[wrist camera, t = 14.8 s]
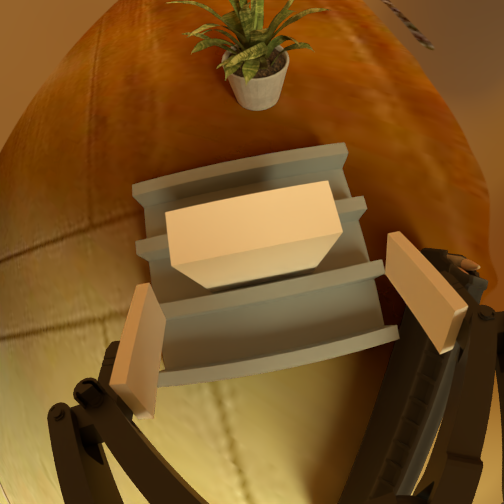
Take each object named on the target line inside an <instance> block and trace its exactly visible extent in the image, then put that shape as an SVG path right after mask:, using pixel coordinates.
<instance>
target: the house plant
mask: <svg viewBox="0 0 504 504" xmlns="http://www.w3.org/2000/svg"><path fill="white" fill-rule="evenodd" d="M229 1H230V2H231V4H232V6H233V7H234V9H235V11H232V12H230V13H227V14H225V15H223V16H222V17H221V16H219V15H218V14H217V13H216V12H214V11H213V10H212V9H211V8H209V7H207V6H206V5H204V4H200V3H198V2H193V1H173V2H168V3H183V4H186V3H189V4H193V5H197V6H199V7H202V8H204V9H206V10H207V11H209V12H211V13H212V14H213V15H215V16H216V17H217V18H219V19H220V20H222V21H223V22H224V23H225V24H226V25H227V26H228V27H225V26H223V27H225V28H227V29H229V30H231V31H232V32H234V33H235V35H236V36H237V38H238V40H239V42H240V43H239V42H238V41H237V40H236V39H235V38H234V37H233V36H231V35H230V34H229V33H227V32H225V31H223V30H217V29H216V31H219V32H221V33H223V34H225V35H226V36H228V37H229V38H230V39H231V40H232V41H234V42H235V43H236V44H235V45H234V44H232V43H230V42H228V41H225V40H223V39H216V38H215V39H211V38H209V37H208V36H205V35H203V34H204V33H206V32H208V31H211V30H206V31H204V32H203V33H201V34H200V33H198V32H200V31H202V30H205V29H207V28H210V27H214V26H220V25H217V24H205V25H202V26H201V27H199V28H198V29H196V30H194V31H193V32H191V33H183V34H186V35H189V36H188V37H190V36H192V35H194V36H197V37H200V38H202V39H205V40H203V41H200V42H199V43H198V44H197V45H196V46H195V47H194V49H193V51H192V53H193V52H197V51H200V50H203V49H205V48H207V47H210V46H213V45H216V46H218V47H221V48H223V49H225V50H227V51H226V52H225V53H224V55H223V57H222V63H220V64H219V65H218V66H217V68H216V69H218V68H219V67H221V66H223V70H224V71H225V81H226V79H227V78H228V80H229V83H230V85H231V88H232V90H233V92H234V95H235V97H236V99H237V101H238V103H239V104H240V105H241V106H242V107H244V108H246V109H249V110H257V111H260V110H265V109H268V108H270V107H272V106H273V105H275V104H276V102H277V101H278V99H279V96H280V92H281V89H282V85H283V82H284V78H285V75H286V71H287V68H288V64H289V56H288V54H287V52H286V51H287V50H291V49H298V48H308V49H311V50H313V49H312V48H311V47H310V45H309V44H306V43H298V42H297V41H296V40H295V39H293V38H291V37H288V36H283V35H280V36H278V37H276V38H274V39H273V40H272V41H271V39H272V38H273V37H274V36H275V35H276V34H277V33H278V32H279V31H280V30H282V29H283V28H284V27H286V26H287V25H289V24H291V23H293V22H295V21H297V20H298V19H300V18H301V17H303V16H305V15H307V14H309V13H314V12H320V11H325V10H328V9H323V8H312V9H308V10H305V11H302V12H300V13H298V14H296V15H294V16H293V17H291V18H289V19H288V20H287V21H286V22H285V23H284V24H283V25H282V26H281V27H280V28H279V29H278V30H277V31H276V32H275V30H276V28H277V27H278V25H279V24H280V23H281V22H282V21H283V20H284V19H285V18H286V17H288V16H289V15H290V14H291V13H292V12H296V11H291V10H288V8H289V7H290V6H291V4H292V2H293V1H294V0H289V1H288V2H287V3H286V5H285V6H284V8H283V9H282V10H281V12H279V13H278V14H277V15H276V16H275V18H274V19H273V20H272V22H271V24H270V26H269V27H268V28H266V29H262V27H263V18H264V14H263V6H264V0H251V11H250V9H249V4H250V2H249V3H248V4H247V0H240V2H239V0H229ZM330 11H331V10H330ZM274 32H275V33H274ZM286 40H293V41H294V42H295V44H292V45H290V46H288V47H285V48H283V47H281V46H280V44H281V43H283V42H284V41H286ZM223 44H228V45H230V46H231V47H230V48H229V47H227V46H225V45H223ZM192 53H191V54H192Z"/></svg>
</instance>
